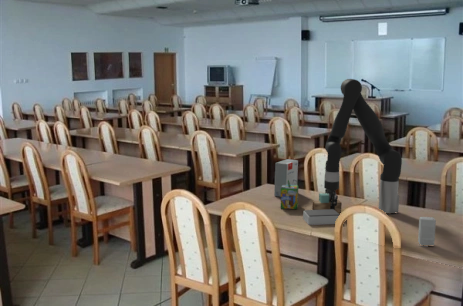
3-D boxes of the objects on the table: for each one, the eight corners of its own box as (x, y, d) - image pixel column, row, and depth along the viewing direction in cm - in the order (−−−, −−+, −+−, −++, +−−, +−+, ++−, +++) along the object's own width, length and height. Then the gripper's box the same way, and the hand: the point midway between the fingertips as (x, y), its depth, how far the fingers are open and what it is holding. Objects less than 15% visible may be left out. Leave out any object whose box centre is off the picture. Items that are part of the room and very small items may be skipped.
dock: (333, 217, 255) (334, 208, 255) (340, 223, 246) (340, 214, 245) (303, 218, 254) (303, 209, 253) (308, 224, 244) (308, 215, 243)
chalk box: (297, 209, 268) (298, 182, 266) (280, 208, 270) (280, 181, 268) (298, 205, 277) (299, 178, 275) (281, 204, 279) (282, 178, 276)
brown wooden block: (338, 211, 267) (338, 200, 266) (341, 213, 262) (341, 202, 261) (312, 211, 265) (312, 200, 264) (314, 214, 260) (315, 203, 259)
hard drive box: (285, 198, 291) (286, 164, 288) (273, 196, 295) (274, 162, 292) (297, 192, 304) (298, 160, 300) (286, 190, 308) (286, 158, 305)
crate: (326, 200, 264) (326, 193, 264) (328, 202, 261) (328, 195, 260) (318, 200, 264) (319, 193, 263) (321, 203, 260) (321, 195, 259)
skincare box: (431, 243, 219) (434, 217, 217) (434, 247, 215) (436, 220, 213) (417, 242, 220) (419, 216, 218) (419, 246, 216) (421, 219, 214)
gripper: (343, 182, 254) (342, 215, 257) (334, 176, 268) (333, 207, 271) (329, 183, 253) (327, 215, 256) (320, 176, 267) (319, 207, 270)
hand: (330, 211), depth 264 cm, fingers closed on brown wooden block, 5 cm apart
